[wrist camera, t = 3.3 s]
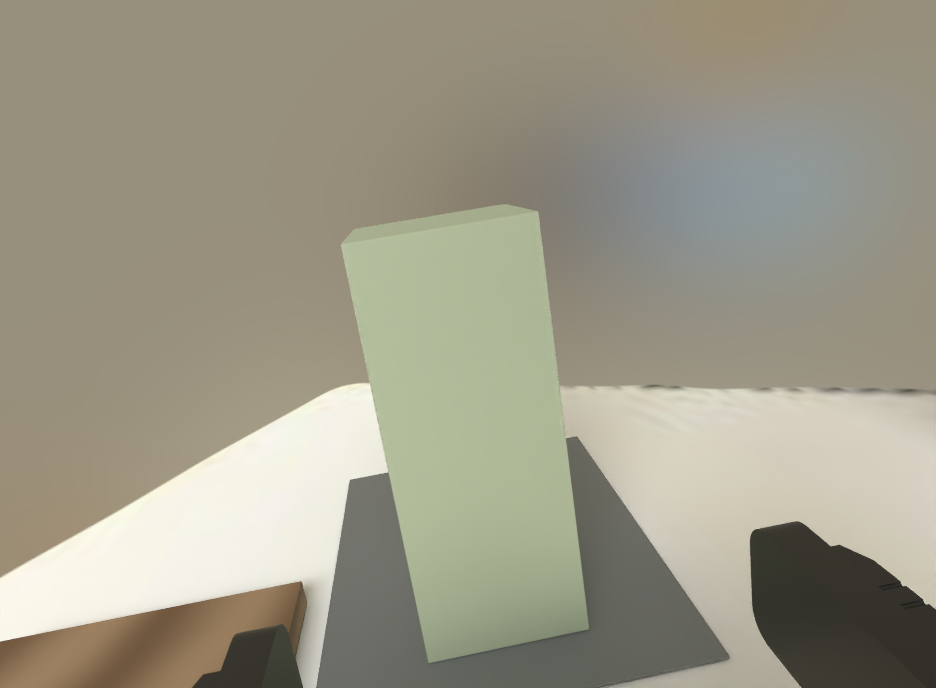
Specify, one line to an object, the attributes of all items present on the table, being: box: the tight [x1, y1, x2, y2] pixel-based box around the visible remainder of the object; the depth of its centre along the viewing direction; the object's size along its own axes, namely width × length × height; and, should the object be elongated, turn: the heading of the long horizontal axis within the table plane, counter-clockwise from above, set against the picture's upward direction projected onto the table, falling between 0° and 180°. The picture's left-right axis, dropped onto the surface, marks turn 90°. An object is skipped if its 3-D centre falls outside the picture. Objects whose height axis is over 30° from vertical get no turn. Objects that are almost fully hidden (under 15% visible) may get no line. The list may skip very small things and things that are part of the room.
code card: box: [316, 437, 729, 688], centre depth 27 cm, size 13×17×1 cm
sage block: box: [341, 204, 589, 663], centre depth 22 cm, size 6×6×14 cm
